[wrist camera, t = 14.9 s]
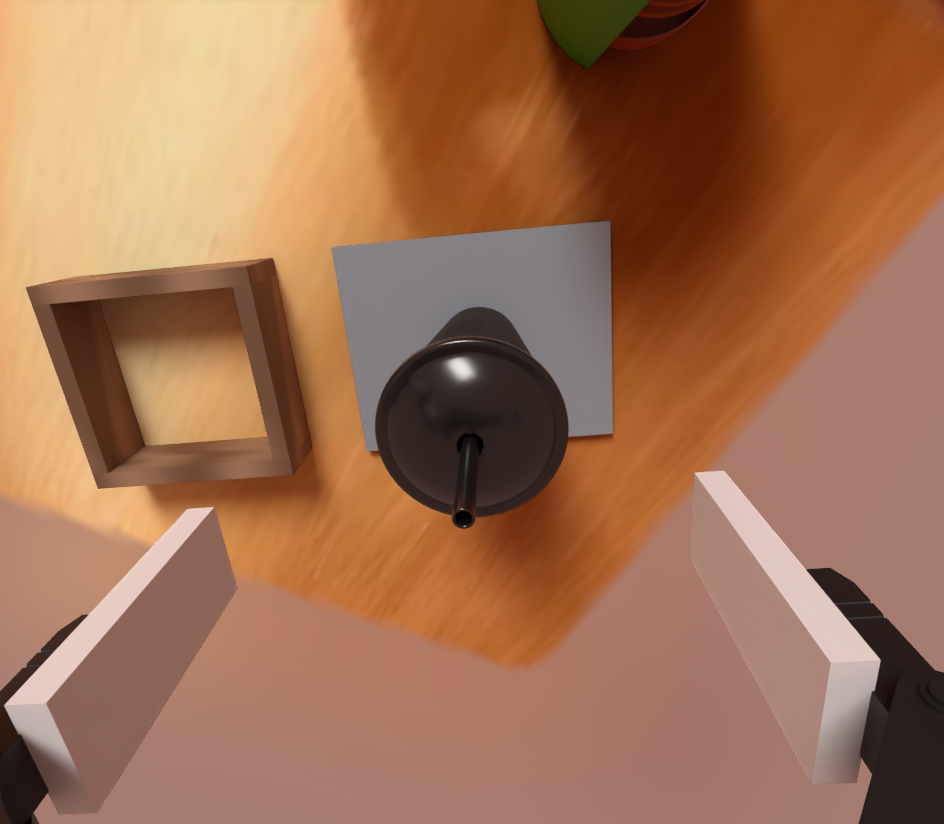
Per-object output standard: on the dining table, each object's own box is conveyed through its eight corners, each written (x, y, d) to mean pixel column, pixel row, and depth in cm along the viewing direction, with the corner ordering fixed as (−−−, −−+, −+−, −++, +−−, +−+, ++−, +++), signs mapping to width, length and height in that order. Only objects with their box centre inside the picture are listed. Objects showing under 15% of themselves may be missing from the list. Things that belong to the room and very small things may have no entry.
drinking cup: (392, 357, 36) (284, 537, 18) (466, 256, 34) (433, 339, 15) (490, 427, 38) (487, 663, 19) (567, 335, 35) (651, 499, 17)
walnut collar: (134, 460, 40) (98, 488, 36) (74, 276, 36) (25, 287, 32) (312, 447, 39) (293, 475, 36) (272, 258, 35) (246, 266, 31)
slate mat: (368, 447, 39) (366, 451, 39) (334, 246, 35) (331, 247, 34) (611, 430, 38) (612, 433, 37) (608, 220, 33) (610, 221, 33)
